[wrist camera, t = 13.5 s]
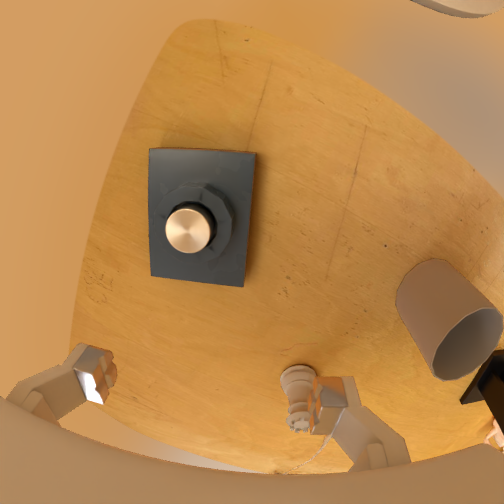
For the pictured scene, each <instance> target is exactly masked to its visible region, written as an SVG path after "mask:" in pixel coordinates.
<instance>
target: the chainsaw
mask: <svg viewBox="0 0 504 504" xmlns="http://www.w3.org/2000/svg"><path fill="white" fill-rule="evenodd" d="M493 426H494V427H493V428H492V429H491V430H490V432H489V433H488V434H487V435H486V436H485V438H484V443H486V444H489V445H491V443H490V442H489V438H490V437H491V436H492V437H493V438H494V439H495V441H496V442H497V444H498V445H499V447H501V446H503V445H504V435H503V433H502V431H501V429H500V427H499V425H498V423H497V421H496V419H494V421H493ZM491 446H492V445H491ZM502 453H504V447H503V451H502Z"/></svg>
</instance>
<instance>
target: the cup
mask: <svg viewBox="0 0 504 504" xmlns="http://www.w3.org/2000/svg"><path fill="white" fill-rule="evenodd" d="M396 307H397V310H398V312H399V315H400V317H401V319H402V320H403V322H404V324H405V326H406V327H407V329H408V331H409V332H410V334H411V336H412V338H413V339H414V341H415V343H416V345H417V346H418V348H419V350H420V352H421V354H422V355H423V357H424V359H425V361H426V363H427V365H428V366H429V368H430V370H431V372H432V374H433V376H434V377H436V378H438V379H440V380H442V381H451V380H458V379H460V378H462V377H464V376H466V375H468V374H470V373H472V372H473V371H475V370H476V369H477V368H478V367H479V366H480V365H482V364H483V363H484V362H485V361H486V360H487V359H488V358H489V356H490V355H491V353H492V352H493V351H494V349H495V348H496V347H497V345H498V343H499V340H500V337H501V335H502V332H503V315H502V314H501V313H500V312H499V311H498V309H497V308H496V307H495V306H494V305H493V304H492V303H491V302H490V301H489V300H488V299H487V298H486V297H485V296H484V295H483V294H482V293H481V292H480V291H479V290H478V289H477V288H476V287H474V286H473V285H472V284H471V283H470V282H469V281H468V280H467V279H466V278H465V277H464V276H463V275H462V274H461V273H459V272H458V271H457V270H456V269H455V268H454V267H453V266H452V265H451V264H449V263H448V262H447V261H446V260H441V259H434V258H433V259H430V260H427V261H425V262H422V263H419V264H418V265H416V266H415V267H414V268H413V269H412V270H411V271H410V272H409V273H408V274H406V275H405V277H404V279H403V281H402V283H401V284H400V286H399V288H398V290H397V297H396Z"/></svg>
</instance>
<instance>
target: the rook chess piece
mask: <svg viewBox="0 0 504 504" xmlns="http://www.w3.org/2000/svg"><path fill="white" fill-rule="evenodd" d="M315 377H316V373H315V372H314V370H312V369H311V368H309V367H308V366H304V365H295V366H292V367H289V368H288V369H286V370H285V371H284V372H283V373H282V375H281V376H280V382H281V388H282V389H283V391H284V392H285V394H286V395H287V396H288V400H289V404H290V407H289V408H288V412H289V414H290V415H289V416H288V417H287V419H286V423H287V424H288V425H289V426H290V429H291V431H293V430H294V429H295V432H296V433H299V432H300V430H303V432H308V428H309V429H310V424H309V421H310V418H311V415H310V414H309V413H308V399H309V394H310V391H311V390H312V389H313V381H314V378H315Z"/></svg>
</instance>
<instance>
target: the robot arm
mask: <svg viewBox="0 0 504 504" xmlns="http://www.w3.org/2000/svg"><path fill="white" fill-rule="evenodd" d="M113 358H114V357H113V354H112V352H111V351H110V350H106V349H102V348H99V347H95V346H91V345H87V344H84V343H79V344H78V345H77V346H76V347H75V348H74V350H73V351H72V352H71V354H70V355H69V356H68V357H67V359H66V360H65V361H64V363H63V364H62V365H57V366H55V367H52V368H50V369H48V370H45V371H43V372H41V373H38V374H36V375H34V376H32V377H29V378H27V379H25V380H22V381H20V382H18V383H17V385H16V386H15V387H14V389H13V390H12V391H11V393H10V394H9V395H8V396H7V398H6V399H4V398H2V397H1V396H0V504H504V453H502V452H500V451H499V450H497V449H496V448H494V447H493V446H491V445H489V444H486V443H482V444H478V445H475V446H472V447H469V448H466V449H462V450H459V451H456V452H453V453H449V454H446V455H442V456H438V457H434V458H430V459H426V460H422V461H417V462H413V463H411V459H410V456H409V453H408V450H407V446H406V443H405V440H404V438H403V437H401V436H400V435H399V434H398V433H396V432H395V431H394V430H393V429H392V428H390V427H389V426H388V425H387V424H386V423H384V422H383V421H382V420H381V419H380V418H379V417H377V416H376V415H375V414H374V413H373V412H371V411H370V410H369V409H368V408H367V407H366V406H362V405H361V401H360V397H359V394H358V390H357V387H356V383H355V380H354V378H353V377H352V376H348V377H315V378H314V381H313V389H312V390H311V391H310V394H309V399H308V413H309V414H310V415H311V418H310V421H309V424H310V433H311V435H331V436H332V437H333V438H334V439H335V441H336V442H337V443H338V444H339V445H340V447H341V448H342V449H343V450H344V451H345V453H346V454H347V455H348V456H349V458H350V459H351V460H352V461H353V462H354V465H353V466H352V467H351V469H350V470H349V471H348V472H343V473H329V474H260V473H246V472H235V471H225V470H218V469H210V468H203V467H197V466H191V465H185V464H180V463H175V462H170V461H166V460H161V459H157V458H152V457H148V456H144V455H140V454H137V453H133V452H130V451H126V450H122V449H119V448H116V447H113V446H110V445H107V444H104V443H101V442H98V441H95V440H92V439H89V438H87V437H84V436H82V435H79V434H76V433H74V432H71V431H69V430H66V429H64V428H62V427H61V426H60V424H59V423H58V421H57V420H59V419H60V418H62V417H63V416H64V415H66V414H68V413H69V412H71V411H72V410H73V409H75V408H76V407H78V406H79V405H81V404H82V403H84V402H85V401H87V400H90V401H93V402H97V403H100V404H104V403H105V401H106V399H107V397H108V395H109V390H108V389H109V388H111V387H113V386H114V384H115V382H116V379H117V368H116V365H115V364H114V363H113V362H112V360H113ZM86 399H87V400H86Z"/></svg>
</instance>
